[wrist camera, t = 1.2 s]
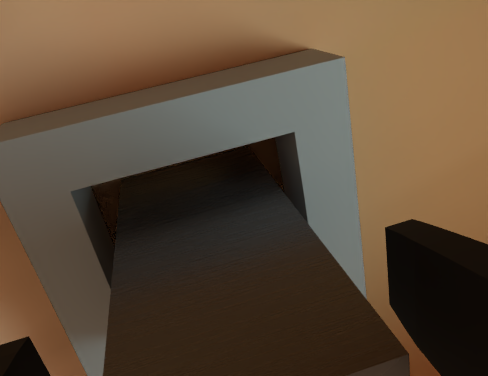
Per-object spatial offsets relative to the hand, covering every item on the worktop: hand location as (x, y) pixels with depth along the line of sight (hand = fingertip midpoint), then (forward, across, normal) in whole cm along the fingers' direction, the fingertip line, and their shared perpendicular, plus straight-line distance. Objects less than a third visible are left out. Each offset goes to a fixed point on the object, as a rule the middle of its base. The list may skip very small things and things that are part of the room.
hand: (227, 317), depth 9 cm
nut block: (+4, 0, 0) cm, 5 cm away
